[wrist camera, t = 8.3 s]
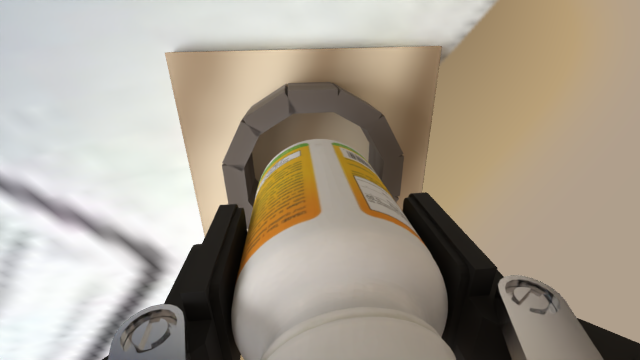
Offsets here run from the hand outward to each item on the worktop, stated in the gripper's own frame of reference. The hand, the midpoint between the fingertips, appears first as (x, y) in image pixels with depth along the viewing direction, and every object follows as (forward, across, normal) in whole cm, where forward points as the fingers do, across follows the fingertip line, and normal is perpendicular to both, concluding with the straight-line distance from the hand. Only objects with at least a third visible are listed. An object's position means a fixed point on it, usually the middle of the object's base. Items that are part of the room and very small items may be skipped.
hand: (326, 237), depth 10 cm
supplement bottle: (+4, 0, 0) cm, 4 cm away
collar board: (+9, 0, 0) cm, 9 cm away
